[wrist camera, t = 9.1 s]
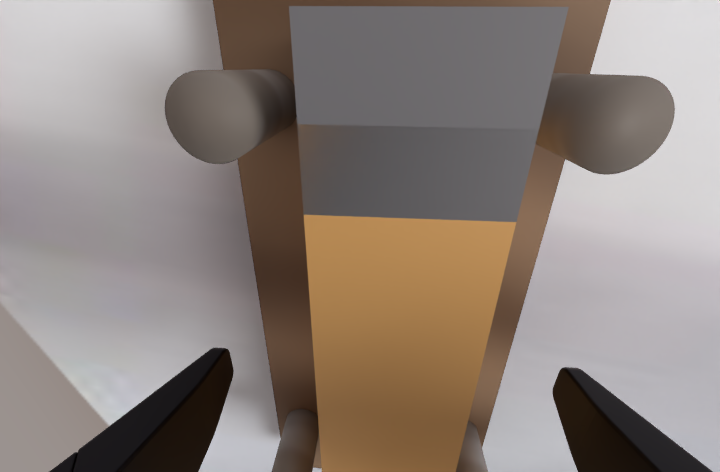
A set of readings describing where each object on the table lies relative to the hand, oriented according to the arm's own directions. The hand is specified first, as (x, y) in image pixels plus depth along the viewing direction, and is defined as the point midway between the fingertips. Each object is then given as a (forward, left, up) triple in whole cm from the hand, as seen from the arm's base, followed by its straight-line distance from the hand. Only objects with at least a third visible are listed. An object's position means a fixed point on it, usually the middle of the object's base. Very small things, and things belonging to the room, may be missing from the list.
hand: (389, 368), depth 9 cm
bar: (0, 0, -3) cm, 3 cm away
